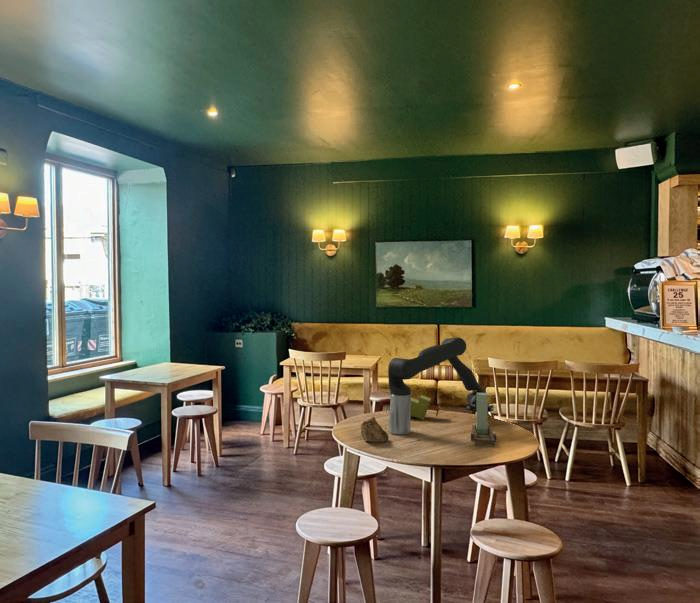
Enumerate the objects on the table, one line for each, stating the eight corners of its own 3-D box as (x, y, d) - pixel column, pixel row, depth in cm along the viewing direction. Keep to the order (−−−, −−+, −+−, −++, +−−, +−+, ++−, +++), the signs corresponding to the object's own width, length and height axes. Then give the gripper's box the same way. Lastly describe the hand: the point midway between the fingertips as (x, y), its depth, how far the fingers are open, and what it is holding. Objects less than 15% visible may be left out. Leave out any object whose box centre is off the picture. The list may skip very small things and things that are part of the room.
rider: (475, 430, 229) (476, 392, 229) (486, 430, 229) (487, 392, 229) (476, 433, 224) (476, 394, 224) (487, 434, 223) (488, 395, 223)
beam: (469, 430, 231) (469, 424, 231) (492, 432, 229) (492, 426, 229) (471, 445, 208) (471, 438, 207) (497, 447, 205) (497, 440, 205)
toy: (434, 424, 259) (397, 410, 263) (441, 401, 258) (404, 388, 262) (433, 428, 250) (394, 414, 254) (440, 405, 249) (401, 391, 253)
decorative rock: (362, 444, 208) (362, 418, 208) (358, 440, 214) (358, 415, 214) (389, 442, 211) (390, 416, 211) (385, 438, 217) (385, 413, 217)
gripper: (465, 395, 249) (466, 402, 232) (493, 396, 247) (496, 403, 230) (465, 410, 249) (466, 418, 232) (492, 412, 247) (496, 420, 230)
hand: (481, 411), depth 231 cm, fingers closed
